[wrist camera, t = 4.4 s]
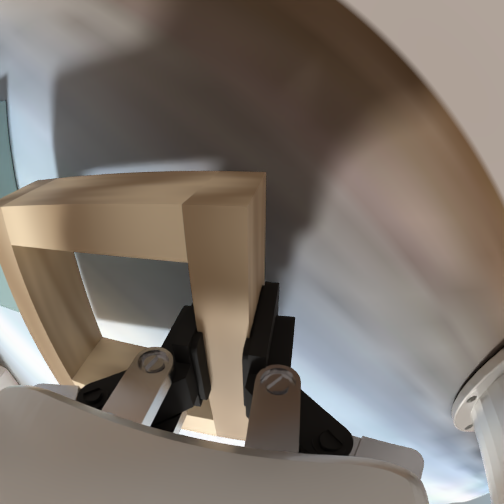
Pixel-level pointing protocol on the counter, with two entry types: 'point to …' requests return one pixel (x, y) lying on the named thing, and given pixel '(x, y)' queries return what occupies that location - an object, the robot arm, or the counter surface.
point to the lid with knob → (3, 183)
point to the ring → (145, 247)
